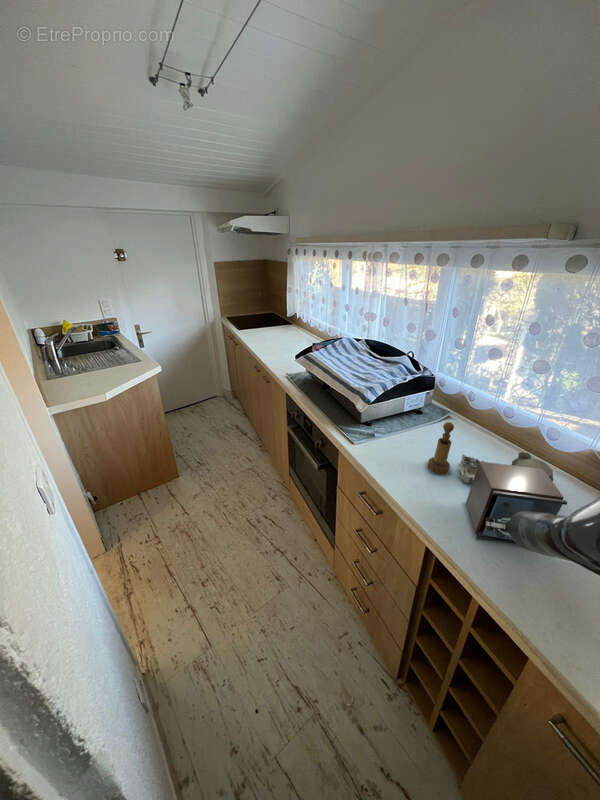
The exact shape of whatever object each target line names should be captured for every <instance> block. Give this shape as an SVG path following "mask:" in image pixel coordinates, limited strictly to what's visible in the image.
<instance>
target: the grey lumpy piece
mask: <svg viewBox="0 0 600 800" xmlns="http://www.w3.org/2000/svg"><path fill="white" fill-rule="evenodd" d="M480 462H484V460H480V459H478V458H475V457H471V456H467V455H465V454H462V455H461V458H460V463H459V467H460V470H459V473H460V477H459V478H460V480H461V481H463V482H464V483H465V484H469V483H473V480H474V477H475V474H476V471H477V469H478V466H479V463H480Z"/></svg>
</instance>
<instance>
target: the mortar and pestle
mask: <svg viewBox="0 0 600 800" xmlns="http://www.w3.org/2000/svg"><path fill="white" fill-rule="evenodd" d="M442 428H443V430H444V432H443V433H442V437H440V438H438V440H437V444H436V448H435V452H434V456H432V457H430V458H429V459H428V462H427V469H428V470H429V471H430V472H432V473H434V474H436V475H440V476H441V475H442V476H443V475H447V474H448V473H449V472H450V468H451V464H450V462H449V461H448V456H449V453H450V449H451V446H452V441H451V439H450V438H451V434H450V433H451V432H452V431H454V429H455V425H454V424H453V423H452V422H451V421H446V422H444V423H443V426H442Z"/></svg>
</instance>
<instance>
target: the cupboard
mask: <svg viewBox="0 0 600 800" xmlns="http://www.w3.org/2000/svg"><path fill="white" fill-rule="evenodd" d="M498 496H501V497H509V498H516V499H523V500H530V501H533V502H534V504H533V506H532V508H531V510H530V511H531V512H542V513H549V514H553V515H559V512H560V510H561V509H562V507H563V505H565V506H567V505H568V501H567V500H566V499H564V496H563V495H562V492H561V491H560V490H559V489H558V487H557V486H556V485H555V483H554V481H553V482H552V480H551V479H550V478H549V476H548V475H547V473H546V472H545V471H544V469H539V468H531V467H522V466H514V465H512V464H503V463H498V462H497V463H495V462H488V461H483V462H480V463H479V466H478V469H477V471H476V474H475V477H474V480H473V482H471V486H470V489H469V492H468V495H467V498H466V501H465V508H466V511H467V514H468V517H469V521H470V523H471V525H472V529H473V532H474V534H475V538H476V539H479V540H487V541H490V542H491V541H492V542H498V543H505V544H511V545H517V544H516V543H515V542H514V540H510V539H504V538H503V539H501V538H498V537H492V536H485V535H483V532H484V530H485V527H486V518H488V517H490V515H491V512H492V510H493V507H494V505H495V502H496V500H497V497H498ZM517 546H518V545H517Z"/></svg>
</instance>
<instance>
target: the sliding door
mask: <svg viewBox="0 0 600 800" xmlns="http://www.w3.org/2000/svg"><path fill="white" fill-rule="evenodd" d="M533 504H534V502H533V501H530V500H523V499H516V498H509V497H501V496H498V497H497V500H496V502H495V505H494V507H493V510H492V512H491V515H490V517H489V518H494V519H496V520H497V519H498V520H499V519H502V518H507V519H508V518H511V517H512V516H513V515H514V514H516V513H518V512H521V511H530V510H531V508H532V506H533ZM482 535H484V536H490V537H497V538H501V539H509V540H513V539H512V538H511V537H509V535H505V534H502V532H500V531H498V530H497V529H496V531H493V530H491V531H489V530H487V529H486V527H485V530H484V532H483V534H482Z"/></svg>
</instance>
